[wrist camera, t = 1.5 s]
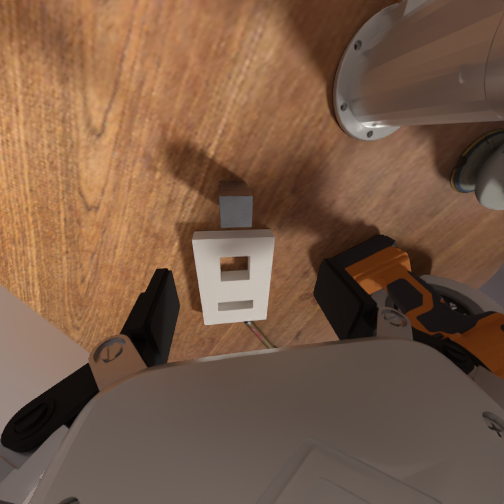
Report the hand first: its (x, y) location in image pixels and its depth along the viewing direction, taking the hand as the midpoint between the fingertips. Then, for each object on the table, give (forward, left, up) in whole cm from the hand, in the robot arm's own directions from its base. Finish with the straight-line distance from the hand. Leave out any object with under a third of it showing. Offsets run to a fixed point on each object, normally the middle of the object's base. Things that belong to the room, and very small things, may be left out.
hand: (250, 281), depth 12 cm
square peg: (0, 0, -20) cm, 20 cm away
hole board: (+16, 0, -20) cm, 26 cm away
